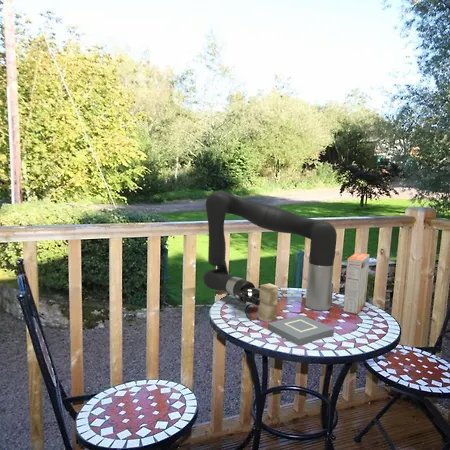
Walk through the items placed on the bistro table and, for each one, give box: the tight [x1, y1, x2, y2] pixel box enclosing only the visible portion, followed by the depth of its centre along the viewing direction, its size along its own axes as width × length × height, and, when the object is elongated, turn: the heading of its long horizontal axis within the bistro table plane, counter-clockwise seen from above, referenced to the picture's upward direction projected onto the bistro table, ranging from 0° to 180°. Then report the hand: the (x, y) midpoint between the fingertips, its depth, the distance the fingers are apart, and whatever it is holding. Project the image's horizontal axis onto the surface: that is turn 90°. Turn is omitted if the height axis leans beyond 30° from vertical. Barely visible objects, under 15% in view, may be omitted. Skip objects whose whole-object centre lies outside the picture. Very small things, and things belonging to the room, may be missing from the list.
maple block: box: [257, 282, 279, 323], centre depth 141 cm, size 4×4×12 cm
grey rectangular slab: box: [267, 314, 335, 346], centre depth 131 cm, size 16×14×2 cm
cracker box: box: [342, 252, 370, 315], centre depth 156 cm, size 14×6×21 cm, turn 150°
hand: (268, 301), depth 141 cm, fingers open, 8 cm apart
